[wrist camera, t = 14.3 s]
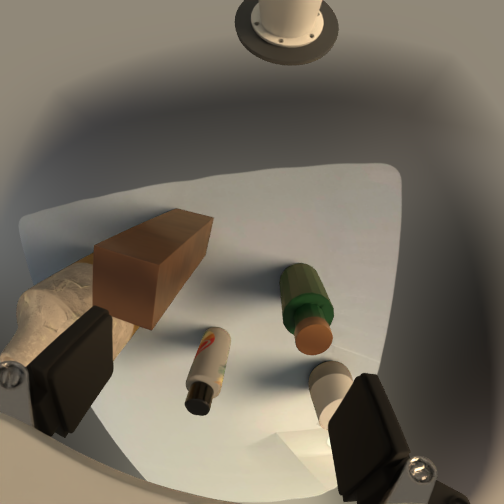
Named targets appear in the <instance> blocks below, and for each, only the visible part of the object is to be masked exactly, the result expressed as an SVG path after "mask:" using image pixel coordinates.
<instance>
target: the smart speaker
mask: <svg viewBox="0 0 504 504" xmlns="http://www.w3.org/2000/svg"><path fill="white" fill-rule="evenodd" d="M352 383H353V380H352V376H351V373H350V371H349V370H348V368H347V367H346V366H345V365H343V364H342V363H339V362H336V361H328V362H324V363H322V364H320V365H318V366H317V367H316V368H315V369H314V370H313V371H312V372H311V374H310V377H309V391H310V395H311V398H312V401H313V404H314V408H315V411H316V414H317V417H318V420H319V423H320V425H321V427H322V428H324V429H326V430H328V423H329V420H330V419H331V417H332V416H333V414H334V413H335V411H336V410H337V408H338V406H339V405H340V403H341V402H342V400H343V398H344V397H345V395H346V393H347V392H348V390H349V388H350V387H351V385H352Z"/></svg>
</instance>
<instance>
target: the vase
mask: <svg viewBox="0 0 504 504" xmlns="http://www.w3.org/2000/svg"><path fill="white" fill-rule="evenodd" d="M93 256H94V253H92V254H90V255H88V256H86V257H84V258H82V259H81V260H79V261H77V262H75V263H73V264H71V265H70V266H68V267H66V268H64V269H62V270H61V271H59V272H57V273H55V274H54V275H52V276H50V277H48V278H47V279H45V280H43V281H41V282H40V283H38V284H36V285H35V286H33V287H31V288H30V289H28V290H27V291H25V292H24V293H23V294H22V295H21V297H20V299H19V301H18V304H17V312H16V314H17V323H18V329H17V331H16V333H15V335H14V336H13V338H12V339H11V341H10V342H9V344H8V345H7V346H6V347H5V349H4V350H3V352H2V353H1V356H0V360H1V362H4V361H10V360H11V361H17V362H19V363H21V364H22V365H24V366H25V367H26V366H27V365H28V364H29V363H30V362H31V361H32V360H33V359H35V358H36V357H37V356H38V355H39V354H40V353H41V352H42V351H43V350H44V349H45V348H46V347H47V346H48V345H49V344H51V343H52V342H53V341H54V340H55V339H56V338H57V337H58V336H59V335H60V334H61V333H63V332H64V331H65V330H66V329H67V328H68V327H70V326H71V325H72V324H73V323H74V322H75V321H76V320H77V319H79V318H80V317H81V316H82V315H83V314H84V313H85V312H87V311H88V310H89V309H90V308H91V307H92V282H93ZM112 319H113V324H112V331H113V361H114V360H115V358H116V357H117V356H118V354H119V353H120V352H121V350H122V349H123V348H124V346H125V345H126V344H127V342H128V341H129V340H130V339H131V337H132V336H133V335H134V333H135V332H136V331H137V329H138V328H139V327H140V326H137V325H134V324H131V323H128V322H125V321H123V320H120V319H117V318H115V317H112Z"/></svg>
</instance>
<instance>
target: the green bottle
mask: <svg viewBox="0 0 504 504" xmlns="http://www.w3.org/2000/svg"><path fill="white" fill-rule="evenodd" d="M280 293H281V304H282V315H283V324H284V325H285V327H286V329H287V330H288V331H289V332H290V333H292V334H293V335H294V331H295V328H296V326H297V325H298V323H299V322H300V321H302V320H303V319H305V318H308V317H320V318H323V319H324V320H325V321H326V322H327V323H328V324H329V326H330V325H331V322H332V320H333V318H334V308H333V306H332V304H331V301H330V299H329V297H328V295H327V293H326V290H325V288H324V286H323V284H322V282H321V280H320V277H319V275H318V274H317V272H316V270H315V269H314V268H313V267H311V266H310V265H307V264H303V263H297V264H293V265H291V266H289V267H288V268H286V269H285V270H284V272H283V273H282V275H281V277H280Z"/></svg>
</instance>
